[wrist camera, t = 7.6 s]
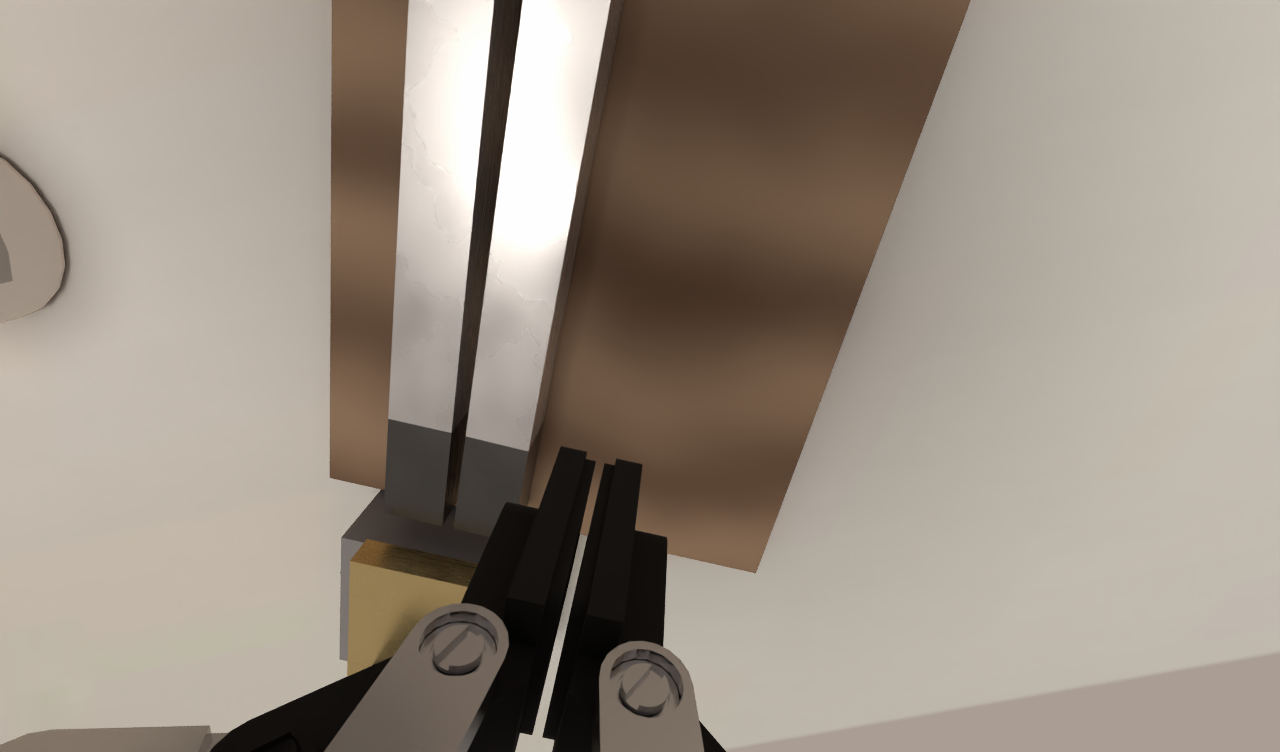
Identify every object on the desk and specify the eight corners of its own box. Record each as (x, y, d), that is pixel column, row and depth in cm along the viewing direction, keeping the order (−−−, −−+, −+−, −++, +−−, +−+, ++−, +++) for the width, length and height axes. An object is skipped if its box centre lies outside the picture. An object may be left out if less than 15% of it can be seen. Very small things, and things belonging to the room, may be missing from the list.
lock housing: (388, 481, 26) (341, 537, 22) (570, 521, 26) (552, 584, 22) (382, 592, 28) (339, 659, 25) (548, 629, 29) (528, 701, 25)
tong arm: (502, -250, 15) (461, -331, 13) (663, -207, 15) (656, -277, 13) (426, 479, 24) (393, 526, 22) (527, 504, 24) (507, 553, 22)
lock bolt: (366, 538, 22) (298, 627, 18) (526, 574, 22) (491, 669, 18) (362, 654, 25) (301, 754, 21) (506, 686, 25) (472, 791, 21)
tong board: (354, -284, 16) (333, -309, 15) (1004, -127, 16) (1023, -141, 15) (342, 464, 26) (330, 477, 25) (753, 557, 26) (755, 573, 25)
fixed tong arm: (450, -79, 17) (414, -109, 15) (527, -61, 17) (503, -88, 15) (411, 477, 24) (383, 513, 22) (464, 489, 24) (442, 525, 22)
